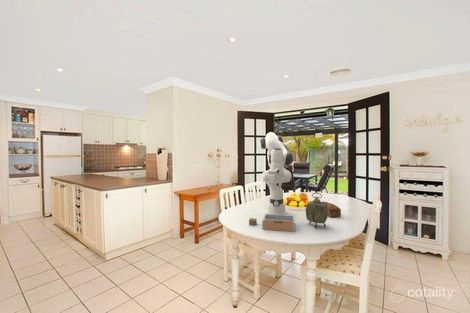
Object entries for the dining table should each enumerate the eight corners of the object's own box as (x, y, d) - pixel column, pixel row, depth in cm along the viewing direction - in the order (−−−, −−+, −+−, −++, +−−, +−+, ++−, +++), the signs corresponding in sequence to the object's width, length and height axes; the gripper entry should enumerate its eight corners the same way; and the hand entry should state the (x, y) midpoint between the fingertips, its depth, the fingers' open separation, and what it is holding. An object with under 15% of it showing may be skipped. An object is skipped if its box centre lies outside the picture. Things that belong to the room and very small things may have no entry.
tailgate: (264, 228, 154) (264, 218, 154) (292, 231, 149) (292, 220, 149) (264, 229, 152) (264, 219, 152) (292, 231, 148) (292, 221, 148)
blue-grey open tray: (264, 223, 170) (264, 213, 170) (294, 225, 165) (294, 215, 165) (262, 230, 153) (262, 220, 153) (295, 233, 148) (295, 223, 148)
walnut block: (250, 224, 167) (250, 217, 167) (256, 225, 166) (256, 218, 166) (249, 226, 162) (249, 220, 162) (255, 227, 161) (255, 220, 161)
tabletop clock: (327, 226, 163) (328, 192, 162) (326, 230, 155) (326, 194, 154) (307, 223, 170) (308, 190, 169) (305, 226, 162) (305, 192, 162)
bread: (317, 212, 201) (317, 201, 201) (327, 211, 203) (327, 200, 203) (330, 218, 183) (330, 206, 183) (341, 217, 185) (341, 205, 185)
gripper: (278, 169, 169) (278, 187, 169) (266, 170, 152) (266, 190, 152) (286, 169, 165) (286, 188, 165) (275, 171, 148) (275, 191, 148)
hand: (277, 189), depth 158 cm, fingers open, 8 cm apart
